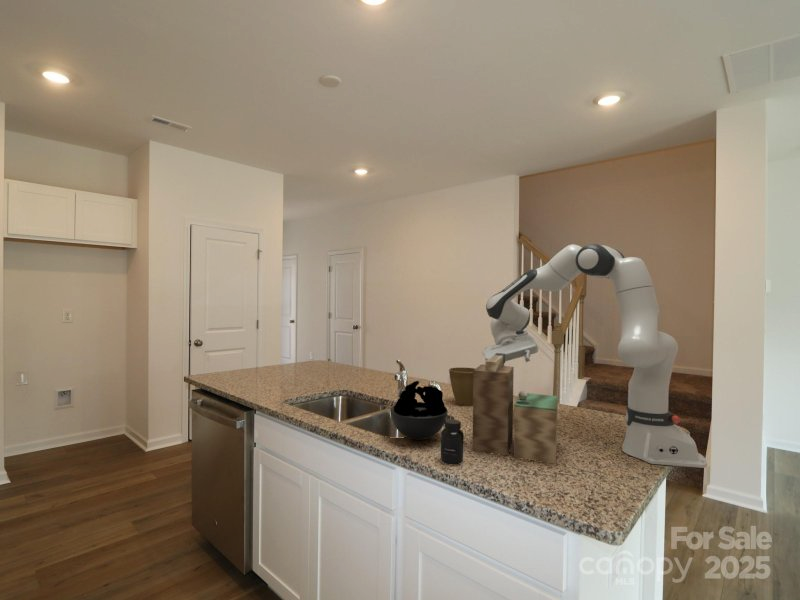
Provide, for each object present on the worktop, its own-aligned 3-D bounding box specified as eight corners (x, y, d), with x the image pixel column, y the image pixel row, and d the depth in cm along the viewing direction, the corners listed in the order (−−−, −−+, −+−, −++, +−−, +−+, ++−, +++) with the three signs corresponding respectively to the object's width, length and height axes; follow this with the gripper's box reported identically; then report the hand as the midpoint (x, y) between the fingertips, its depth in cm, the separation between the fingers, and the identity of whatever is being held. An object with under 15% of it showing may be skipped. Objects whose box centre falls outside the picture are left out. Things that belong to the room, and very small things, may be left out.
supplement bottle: (445, 466, 121) (445, 425, 121) (437, 457, 127) (437, 418, 127) (467, 464, 123) (467, 423, 123) (457, 455, 129) (458, 417, 129)
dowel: (505, 362, 150) (505, 353, 150) (495, 372, 130) (495, 362, 130) (496, 361, 152) (496, 353, 152) (485, 371, 131) (485, 361, 131)
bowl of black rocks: (439, 451, 132) (440, 393, 132) (381, 444, 139) (382, 388, 139) (452, 432, 151) (453, 381, 151) (400, 426, 158) (401, 377, 158)
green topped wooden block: (556, 444, 140) (557, 387, 140) (555, 464, 123) (556, 399, 123) (520, 439, 145) (520, 384, 144) (513, 457, 128) (514, 395, 128)
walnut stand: (512, 442, 141) (513, 366, 141) (507, 456, 129) (508, 373, 129) (480, 438, 145) (481, 364, 145) (472, 451, 133) (473, 370, 133)
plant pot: (483, 408, 185) (484, 372, 185) (450, 407, 185) (450, 372, 185) (478, 400, 200) (478, 367, 200) (447, 399, 200) (447, 366, 200)
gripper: (479, 343, 166) (485, 364, 154) (530, 329, 163) (540, 349, 151) (483, 355, 169) (489, 377, 157) (533, 341, 166) (543, 362, 154)
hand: (515, 363), depth 154 cm, fingers open, 8 cm apart
